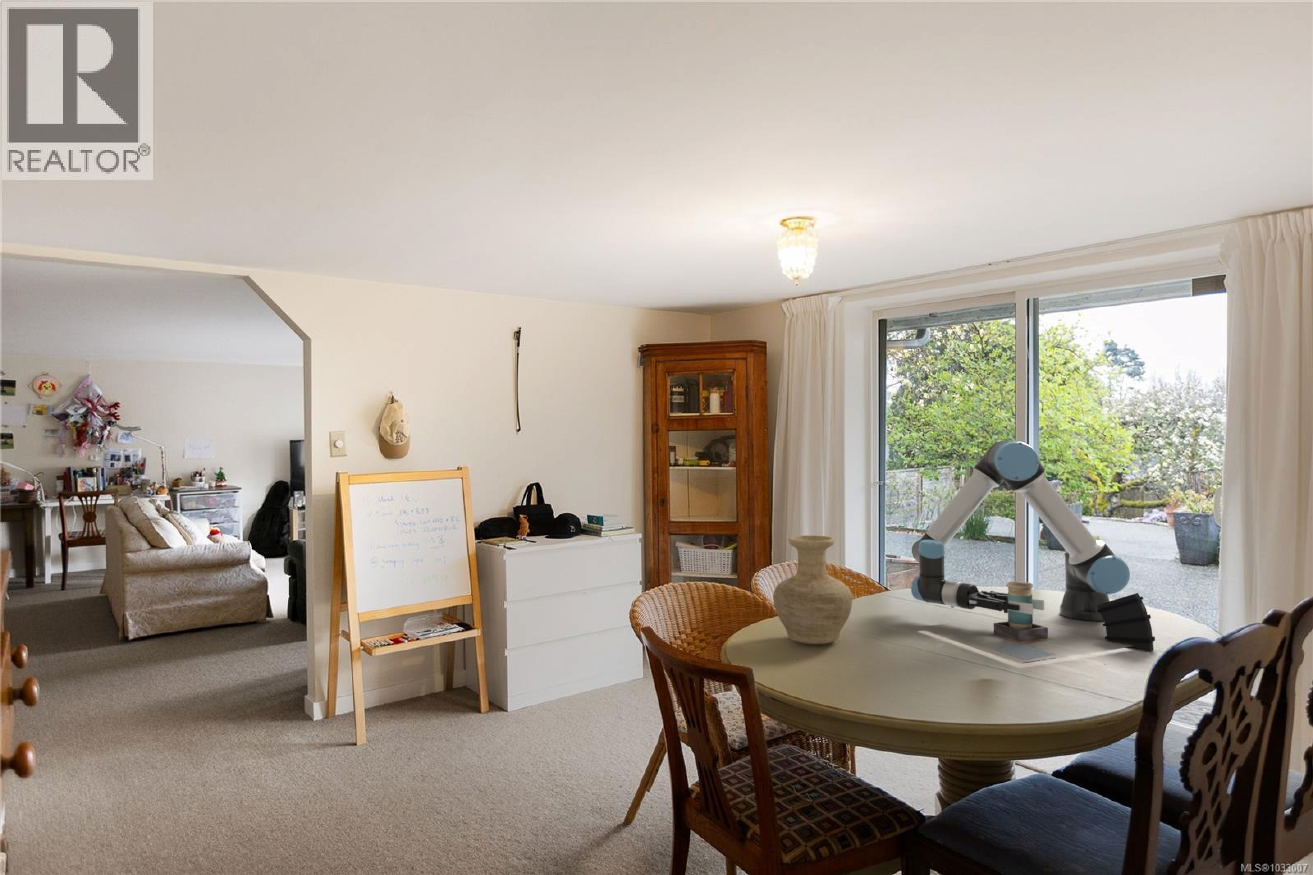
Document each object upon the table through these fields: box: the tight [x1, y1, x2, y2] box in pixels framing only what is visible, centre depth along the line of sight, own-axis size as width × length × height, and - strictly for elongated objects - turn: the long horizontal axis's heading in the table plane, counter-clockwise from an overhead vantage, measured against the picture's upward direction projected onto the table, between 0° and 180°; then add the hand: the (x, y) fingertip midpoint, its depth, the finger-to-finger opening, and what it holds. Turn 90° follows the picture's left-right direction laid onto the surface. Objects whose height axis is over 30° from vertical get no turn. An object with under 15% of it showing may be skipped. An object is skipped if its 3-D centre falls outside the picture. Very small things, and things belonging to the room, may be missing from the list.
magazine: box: [1097, 592, 1156, 653], centre depth 215 cm, size 4×13×15 cm, turn 39°
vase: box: [772, 534, 853, 645], centre depth 226 cm, size 22×22×30 cm
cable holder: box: [988, 620, 1054, 644], centre depth 224 cm, size 12×12×4 cm
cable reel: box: [1006, 580, 1034, 630], centre depth 224 cm, size 7×7×15 cm
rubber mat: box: [992, 643, 1057, 664], centre depth 209 cm, size 11×11×1 cm
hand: (1037, 607), depth 220 cm, fingers closed on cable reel, 6 cm apart
